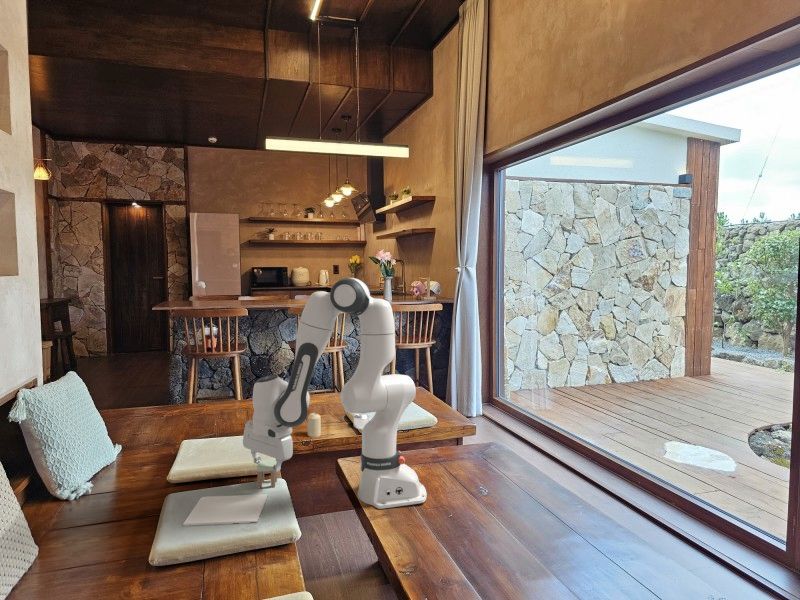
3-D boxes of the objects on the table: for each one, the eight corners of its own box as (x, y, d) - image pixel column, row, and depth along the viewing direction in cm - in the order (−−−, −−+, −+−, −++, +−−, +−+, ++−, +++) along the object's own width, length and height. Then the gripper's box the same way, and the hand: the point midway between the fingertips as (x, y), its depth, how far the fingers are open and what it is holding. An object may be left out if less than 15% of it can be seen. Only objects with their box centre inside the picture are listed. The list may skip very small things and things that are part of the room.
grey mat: (267, 496, 152) (267, 494, 152) (257, 522, 136) (257, 520, 136) (201, 498, 150) (201, 496, 150) (183, 525, 134) (183, 523, 134)
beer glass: (360, 445, 224) (360, 413, 223) (372, 448, 220) (372, 416, 219) (350, 449, 219) (350, 417, 218) (362, 453, 215) (362, 420, 214)
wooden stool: (277, 480, 164) (276, 459, 163) (274, 487, 158) (274, 466, 158) (260, 480, 163) (260, 460, 163) (257, 488, 158) (257, 467, 157)
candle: (318, 439, 203) (317, 415, 202) (305, 438, 204) (305, 415, 203) (322, 435, 208) (322, 412, 207) (310, 434, 209) (310, 411, 208)
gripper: (238, 421, 162) (238, 461, 163) (281, 435, 151) (281, 478, 152) (253, 416, 167) (253, 455, 168) (296, 429, 156) (295, 471, 157)
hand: (266, 466), depth 160 cm, fingers open, 8 cm apart
